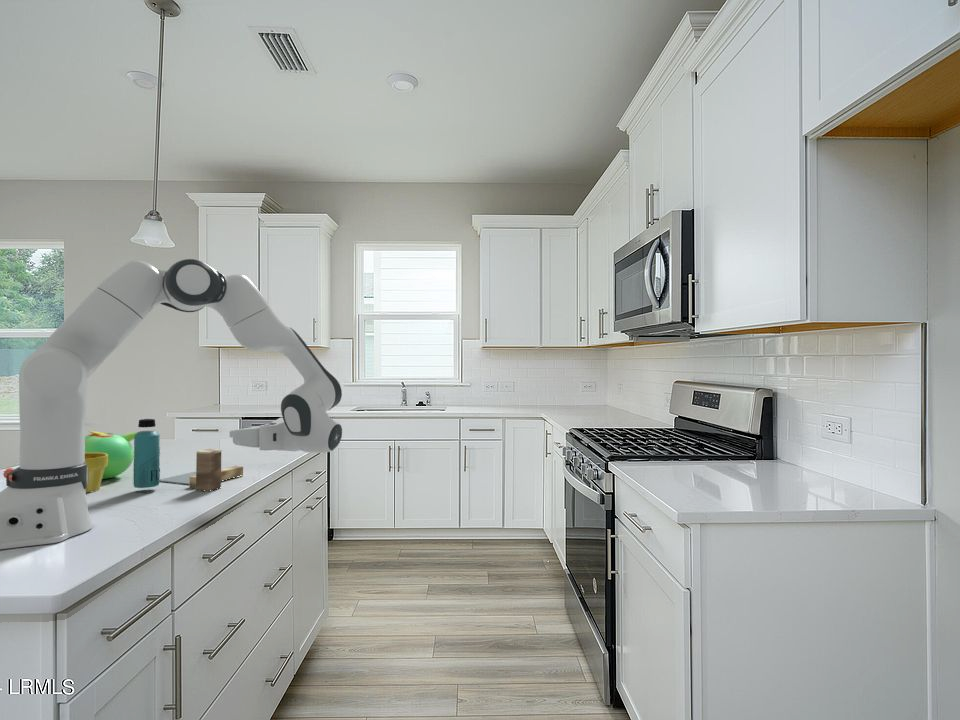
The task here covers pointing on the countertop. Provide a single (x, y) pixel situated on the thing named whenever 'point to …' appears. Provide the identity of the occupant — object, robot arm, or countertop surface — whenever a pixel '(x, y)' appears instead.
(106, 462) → the plant pot
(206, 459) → the walnut block
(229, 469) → the oak rail
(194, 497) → the countertop surface
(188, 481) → the grey mat
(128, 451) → the green rounded body
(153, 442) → the beverage bottle
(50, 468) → the robot arm
